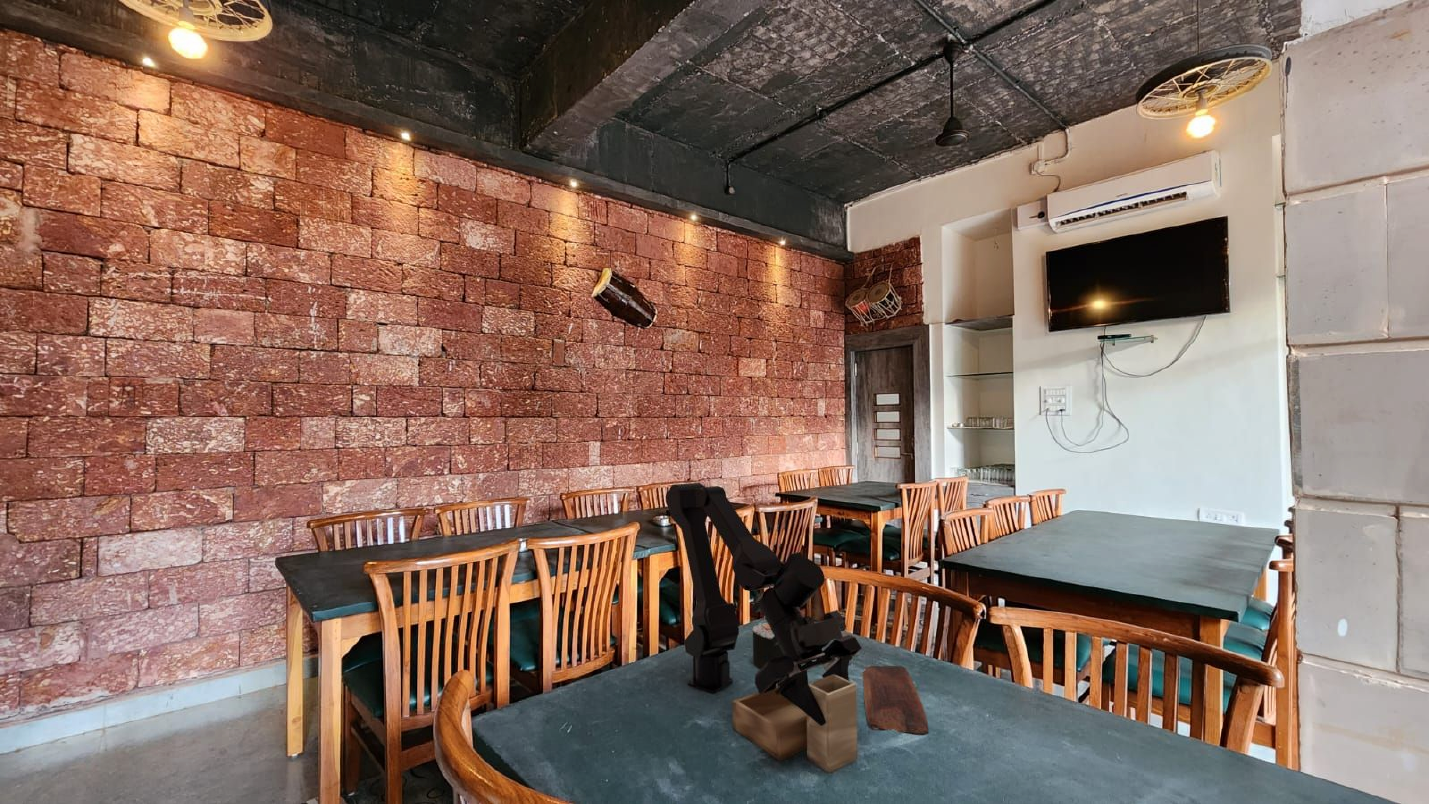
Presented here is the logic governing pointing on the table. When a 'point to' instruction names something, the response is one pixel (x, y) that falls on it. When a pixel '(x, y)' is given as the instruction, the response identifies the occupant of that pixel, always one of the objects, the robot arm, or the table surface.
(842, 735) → the birch crate
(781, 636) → the robot arm
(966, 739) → the table surface
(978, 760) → the table surface
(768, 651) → the sushi
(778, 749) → the oak crate
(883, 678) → the wooden tablet
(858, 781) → the table surface
